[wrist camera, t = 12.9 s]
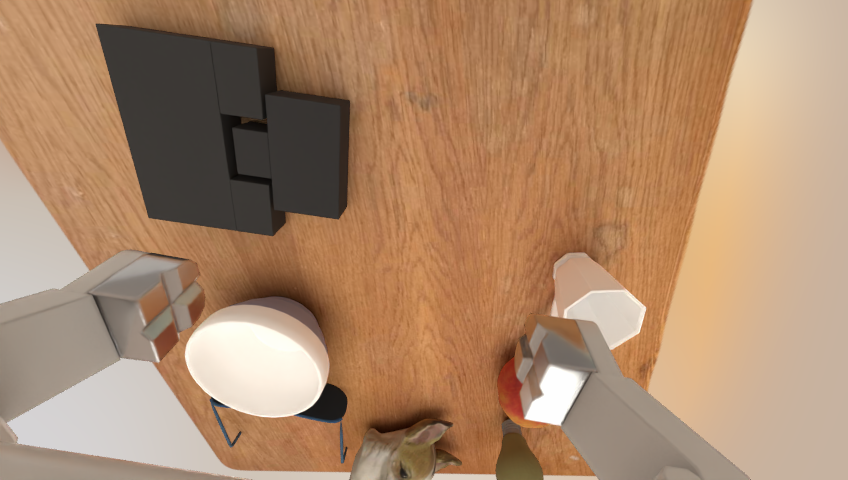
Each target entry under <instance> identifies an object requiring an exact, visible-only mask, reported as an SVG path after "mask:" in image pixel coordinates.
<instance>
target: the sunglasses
mask: <svg viewBox="0 0 848 480" xmlns="http://www.w3.org/2000/svg"><path fill="white" fill-rule="evenodd" d="M210 402H211V405H212V408H213V411H214V414H215V416H216V418H217V421H218V423H219V425H220V427H221V430H222V432H223V434H224V436H225V438H226V440H227V443H228V445H229V446H230V447H233V446H234V444H235V443H236V441H237V440H238V438H239V436H240V435H241V432H239V434H238V435H237V437H236V438H235V440H234V441H233V443H232V444H231V442H230V440H229V437H228V435H227V433H226V431H225V428H224V426H223V424H222V422H221V419H220V417H219V415H218V413H217V411H216V409H215V407H214V405H215V406H218V407H225V408H231V407H228V406H226V405H224V404H223V403H221V402H219V401H218V400H216V399H214V398H213V397H212V396H211V399H210ZM346 408H347V397H346V395H345V393H344V392H343V391H342V390H341V389H339V388H338V387H336V386H334V385H331V384H328V383H326V385H325V387H324V389H323V391H322V393H321V395H320V397H319V399H318V400H317V401H316V402H315V404H314V405H313V406H311V407H310V408H308V409H307V410H305V411H303V412H300V413H298V414H295V416H299V417H302V418H307V419H311V420H316V421H321V422H327V423H337V422H340V421H341V420H343V419H342V417H343V416H344V415H345V412H346ZM340 450H341V463H344V460H345V456H346V452H347V447H346V449H345V452H344V455H343V432H342V423H340Z"/></svg>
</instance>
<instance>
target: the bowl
mask: <svg viewBox="0 0 848 480" xmlns="http://www.w3.org/2000/svg"><path fill="white" fill-rule="evenodd" d="M185 358H186V364H187V367H188V369H189V371H190V374H191V375H192V377H193V378H194V380H195V381H196V382H197V384H198V385H199V386H200V387H201V388H202V389H203V390H204V391H205V392H207V393H208V394H209V395H210V396H212V397H213V398H214V399H216V400H218V401H219V402H221V403H223V404H224V405H226V406H228V407H231V408H233V409H235V410H238V411H241V412H244V413H247V414H251V415H256V416H261V417H286V416H291V415H295V414H298V413H300V412H303V411H305V410H307V409H308V408H310V407H311V406H313V405H314V404H315V402H316V401H317V400H318V399H319V397H320V395H321V393H322V391H323V389H324V387H325V385H326V382H327V378H328V374H329V366H330V364H329V357H328V352H327V346H326V344H325V339H324V336H323V333H322V331H321V329H320V327H319V325H318V323H317V320H316V318H315V317H314V315H313V314H312V313H311V312H310V311H309V310H308V309H307V308H306V307H305V306H303V305H302V304H300V303H298V302H296V301H294V300H291V299H289V298H284V297H277V296H272V297H265V298H258V299H250V300H247V301H244V302H240V303H237V304H233V305H230V306H228V307H226V308H223V309H220V310H218V311H217V312H215V313H213V314H211V315H210V316H209V317H208V318H207V319H206V320H205V321H203V322H202V323H201V324H200V325H199V327H198V328H197V329H196V330H195V331H194V333H193V334H192V335H191V337H190V339H189V341H188V343H187V345H186V350H185Z"/></svg>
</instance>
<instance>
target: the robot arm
mask: <svg viewBox="0 0 848 480" xmlns="http://www.w3.org/2000/svg"><path fill="white" fill-rule="evenodd" d="M199 276H200V272H199V269H198V265H197V263H196V262H194V261H192V260H189V259H183V258H178V257H172V256H166V255H161V254H155V253H148V252H142V251H136V250H124V251H121V252H119V253H117V254H116V255H114V256H113V257H111V258H109V259H108V260H106V261H105V262H103V263H102V264H100V265H98V266H97V267H95V268H94V269H92V270H90V271H89V272H87V273H86V274H84V275H83V276H81V277H79V278H78V279H77V280H75V281H73V282H71V283H70V284H68V285H67V286H65V287H64V288H62V289H60V290H59V289H50V290H46V291H43V292H39V293H36V294H33V295H29V296H26V297H23V298H19V299H15V300H12V301H8V302H5V303H2V304H0V480H250V479H244V478H238V477H231V476H225V475H218V474H212V473H205V472H198V471H191V470H185V469H178V468H171V467H165V466H159V465H153V464H146V463H139V462H133V461H126V460H120V459H113V458H106V457H100V456H93V455H87V454H81V453H74V452H68V451H60V450H54V449H47V448H41V447H34V446H28V445H22V444H17V439H18V437H17V436H16V435H15V433H14V432H13V431H12V429H11V428H10V427H9V426H8V424H7V422H9V421H11V420H13V419H14V418H16V417H18V416H20V415H22V414H23V413H25V412H27V411H29V410H31V409H32V408H34V407H36V406H38V405H40V404H41V403H43V402H45V401H47V400H49V399H51V398H52V397H54V396H56V395H57V394H59V393H61V392H63V391H65V390H67V389H68V388H70V387H72V386H74V385H76V384H77V383H79V382H81V381H83V380H85V379H87V378H88V377H90V376H92V375H94V374H96V373H97V372H99V371H101V370H103V369H105V368H106V367H108V366H110V365H112V364H114V363H116V362H117V361H119V360H120V358H126V359H134V360H142V361H150V362H158V363H159V362H160V361H161V360H162V359H163V358H164V357H165V355H166V354H167V353H168V352H169V351H170V350H171V349H172V348H173V347H174V346H175V345H176V343H177V342H178V341H179V332H181V331H183V330H185V329H188V328H190V327H192V326H193V325H194V324H195V322H196V321H197V320H198V319H199V318H200V316H201V313H202V311H203V309H204V306H205V294H204V289H203V288H202V287H201V286H200V285H199V284H198V283H197V282H196V280H197V278H198V277H199ZM524 326H525V331H526V334H525V335H523V336H522V337H520V338H519V340H518V343H517V346H516V350H515V358H514V362H515V373H516V377H517V378H518V379H519V381H520V382H521V383H522V384H523V385H522V387H521V390H520V392H519V395H520V400H521V405H522V410H523V416H524V419H526V420H532V421H537V422H543V423H548V424H554V425H559V426H561V429H562V430H563V431H564V433H565V434H566V435H567V437H568V438H569V439H570V441H571V442H572V444H573V445H574V446H575V448H576V449H577V450H578V452H579V453H580V454H581V456H582V457H583V459H584V460H585V461H586V463H587V464H588V465H589V467H590V468H591V469H592V471H593V472H594V474H595V475H596V476H597V478H598V479H599V480H751V479H750V478H749V477H748V476H747V475H746V474H745V473H744V472H742V471H741V470H740V469H739V468H738V467H736V466H735V465H734V464H733V463H732V462H730V461H729V460H728V459H727V458H726V457H724V456H723V455H722V454H721V453H720V452H718V451H717V450H716V449H715V448H714V447H712V446H711V445H710V444H709V443H708V442H706V441H705V440H704V439H703V438H702V437H700V436H699V435H698V434H697V433H696V432H694V431H693V430H692V429H691V428H690V427H688V426H687V425H686V424H685V423H684V422H683V421H681V420H680V419H679V418H678V417H677V416H675V415H674V414H673V413H672V412H670V411H669V410H668V409H667V408H666V407H665V406H663V405H662V404H661V403H660V402H659V401H657V400H656V399H655V398H654V397H653V396H651V395H650V394H649V393H648V392H647V391H645V390H644V389H643V388H642V387H641V386H639V385H638V384H637V383H636V382H635V381H633V380H632V379H631V378H626V377H624V376H623V374H622V372H621V370H620V368H619V366H618V365H617V363H616V361H615V359H614V357H613V355H612V353H611V351H610V349H609V347H608V345H607V343H606V341H605V339H604V337H603V335H602V333H601V331H600V329H599V327H598V325H597V324H596V323H594V322H593V321H586V320H579V319H568V318H561V317H554V316H548V315H541V314H534V313H530V314H529V316H528V317H527V319H526V322H525V324H524Z"/></svg>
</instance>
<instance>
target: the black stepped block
mask: <svg viewBox="0 0 848 480" xmlns="http://www.w3.org/2000/svg"><path fill="white" fill-rule="evenodd" d="M265 101H266V114H267V124H265V123H259V122H252V121H249V122H246V123H244V124H241V125H238V126H235V127H233V128H232V131H233V139H234V147H235V155H236V163H237V171H238V174H244V175H250V176H257V177H264V178H270V179H271V178H272V189H273V201H274V210H279V211H286V212H292V213H299V214H306V215H313V216H319V217H326V218H333V219H339V218H340V216H341V215H342V213H343V212H344V210H345V209H346V207H347V183H348V149H349V115H350V101H349V100H342V99H336V98H329V97H322V96H316V95H309V94H303V93H296V92H289V91H283V90H280V91H276V92H272V93H268V94H265Z"/></svg>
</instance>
